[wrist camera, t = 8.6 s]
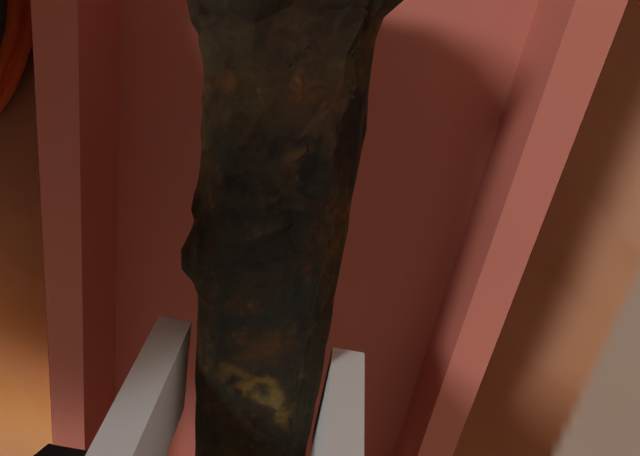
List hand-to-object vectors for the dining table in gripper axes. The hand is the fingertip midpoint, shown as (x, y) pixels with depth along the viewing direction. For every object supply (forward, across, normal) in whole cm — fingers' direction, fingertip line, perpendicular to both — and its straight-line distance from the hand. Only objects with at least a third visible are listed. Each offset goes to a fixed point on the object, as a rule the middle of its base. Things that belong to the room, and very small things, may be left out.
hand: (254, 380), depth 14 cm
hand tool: (+2, +1, 0) cm, 3 cm away
